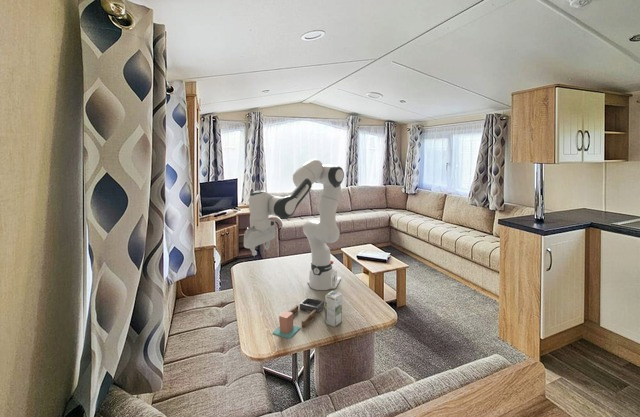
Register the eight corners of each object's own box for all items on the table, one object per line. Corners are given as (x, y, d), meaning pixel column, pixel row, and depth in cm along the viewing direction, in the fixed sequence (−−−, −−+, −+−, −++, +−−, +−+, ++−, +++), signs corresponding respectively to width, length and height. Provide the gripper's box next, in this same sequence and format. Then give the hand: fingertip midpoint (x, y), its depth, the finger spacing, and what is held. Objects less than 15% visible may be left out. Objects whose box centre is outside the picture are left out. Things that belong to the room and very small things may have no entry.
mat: (283, 323, 144) (283, 322, 144) (300, 328, 140) (300, 327, 140) (272, 333, 137) (272, 332, 136) (289, 339, 132) (289, 338, 132)
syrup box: (332, 318, 149) (332, 289, 146) (342, 322, 145) (342, 293, 142) (325, 323, 144) (324, 294, 142) (335, 327, 141) (335, 297, 138)
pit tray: (307, 302, 165) (307, 297, 164) (324, 306, 160) (324, 300, 160) (299, 309, 158) (299, 303, 157) (317, 313, 153) (316, 307, 153)
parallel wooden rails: (296, 310, 156) (296, 304, 156) (316, 315, 151) (316, 309, 150) (283, 322, 146) (282, 316, 145) (303, 327, 141) (303, 321, 140)
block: (286, 326, 141) (285, 310, 140) (293, 328, 140) (293, 312, 138) (279, 331, 137) (279, 316, 136) (287, 333, 135) (286, 318, 134)
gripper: (250, 230, 137) (252, 259, 140) (277, 220, 155) (278, 247, 158) (239, 228, 140) (241, 257, 143) (267, 219, 158) (268, 245, 160)
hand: (260, 252), depth 150 cm, fingers open, 8 cm apart
